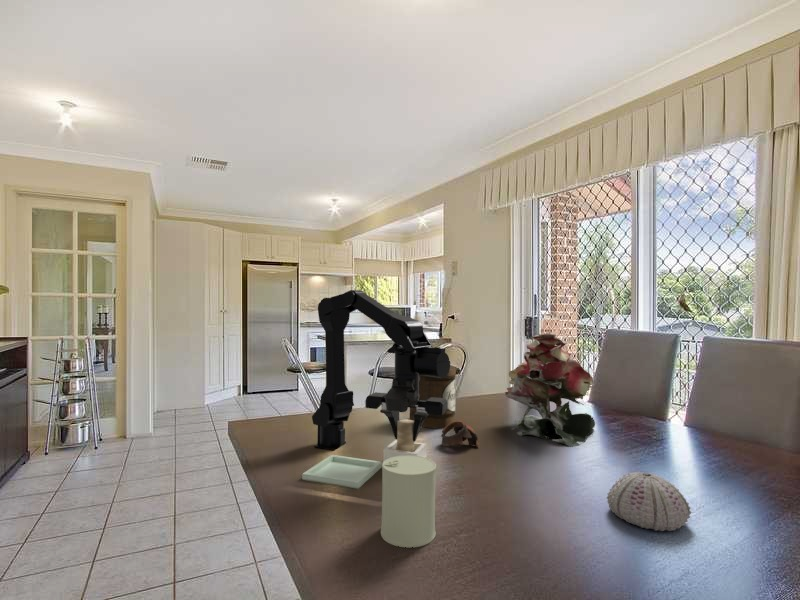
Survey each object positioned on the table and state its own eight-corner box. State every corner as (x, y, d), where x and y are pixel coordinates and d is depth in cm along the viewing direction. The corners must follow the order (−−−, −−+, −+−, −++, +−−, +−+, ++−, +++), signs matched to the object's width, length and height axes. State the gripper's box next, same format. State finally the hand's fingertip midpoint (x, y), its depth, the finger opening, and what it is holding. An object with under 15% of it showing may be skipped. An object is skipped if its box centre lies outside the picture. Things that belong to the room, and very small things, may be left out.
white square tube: (383, 471, 103) (383, 449, 103) (395, 460, 110) (395, 439, 110) (416, 476, 100) (416, 454, 100) (426, 464, 107) (426, 443, 107)
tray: (302, 483, 95) (302, 473, 95) (331, 463, 107) (331, 454, 108) (358, 492, 91) (358, 482, 91) (381, 470, 103) (382, 461, 103)
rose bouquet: (598, 425, 145) (599, 333, 146) (581, 449, 121) (582, 338, 121) (520, 414, 159) (521, 329, 159) (490, 433, 134) (491, 333, 135)
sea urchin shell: (655, 543, 73) (655, 494, 73) (590, 508, 86) (590, 466, 86) (707, 528, 78) (708, 482, 79) (639, 497, 91) (639, 458, 91)
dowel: (394, 466, 104) (395, 422, 104) (400, 460, 108) (400, 418, 108) (410, 468, 102) (411, 424, 102) (416, 462, 106) (416, 420, 106)
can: (379, 520, 79) (380, 452, 80) (431, 519, 80) (431, 452, 80) (381, 549, 70) (382, 472, 70) (439, 547, 71) (441, 471, 71)
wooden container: (457, 429, 139) (458, 357, 139) (409, 428, 139) (410, 357, 139) (452, 417, 154) (453, 352, 154) (409, 416, 154) (410, 352, 154)
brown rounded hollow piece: (484, 456, 115) (470, 430, 114) (451, 470, 117) (437, 444, 115) (479, 432, 127) (466, 408, 125) (448, 444, 128) (436, 421, 127)
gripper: (355, 375, 101) (354, 445, 101) (436, 381, 94) (435, 456, 94) (374, 369, 111) (373, 432, 111) (448, 374, 105) (447, 441, 105)
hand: (405, 440), depth 105 cm, fingers closed on dowel, 4 cm apart
